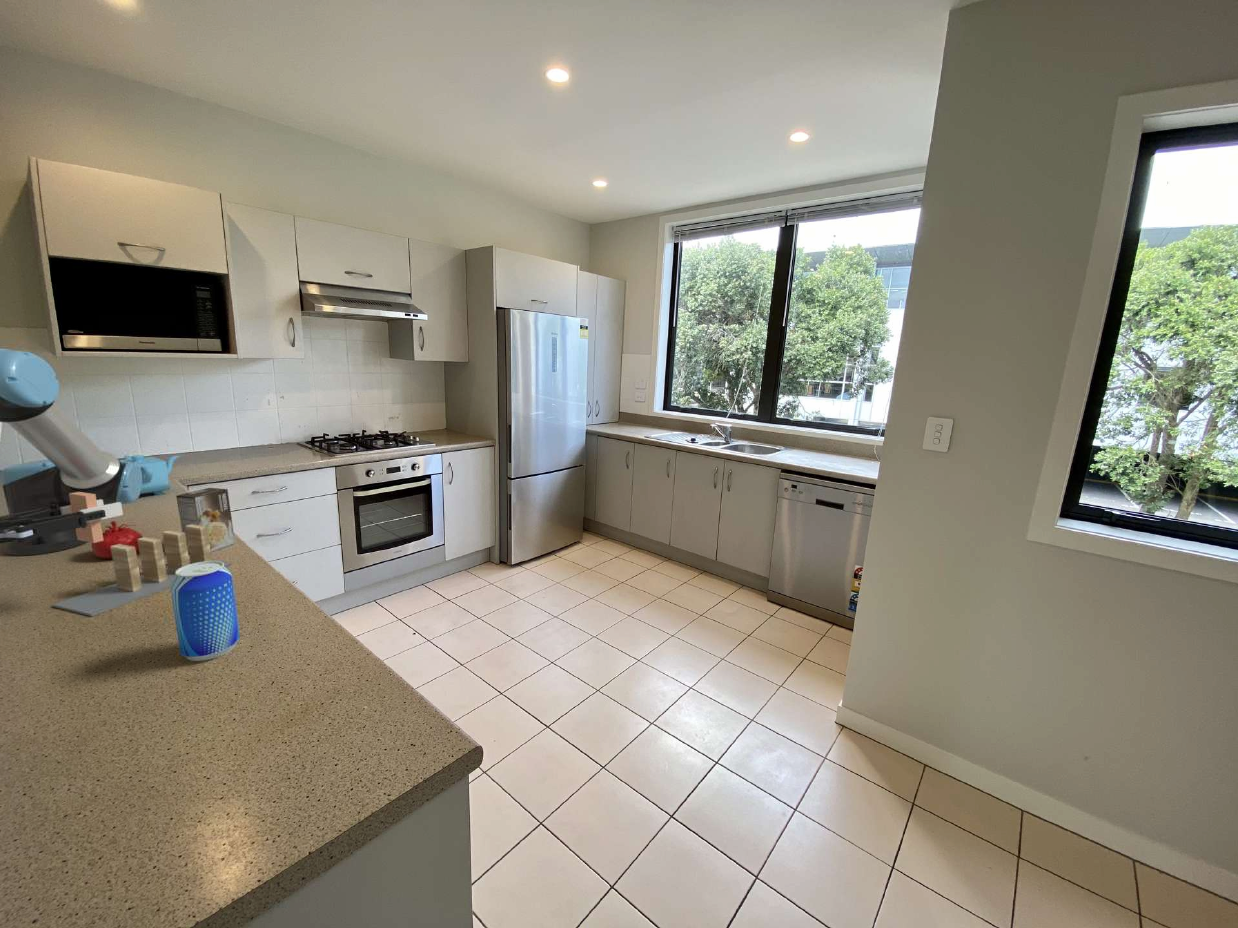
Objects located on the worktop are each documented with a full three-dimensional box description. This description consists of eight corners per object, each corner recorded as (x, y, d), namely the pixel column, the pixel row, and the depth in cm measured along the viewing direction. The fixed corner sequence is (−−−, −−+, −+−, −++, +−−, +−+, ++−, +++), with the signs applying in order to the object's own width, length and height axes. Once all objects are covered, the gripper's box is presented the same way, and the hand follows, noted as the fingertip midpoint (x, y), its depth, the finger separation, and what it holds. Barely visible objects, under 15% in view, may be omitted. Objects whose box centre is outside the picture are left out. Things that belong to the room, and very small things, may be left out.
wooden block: (205, 566, 124) (200, 528, 122) (190, 563, 125) (185, 525, 123) (212, 564, 126) (207, 526, 124) (197, 561, 127) (192, 524, 125)
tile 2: (133, 592, 110) (126, 549, 108) (117, 588, 111) (110, 546, 109) (142, 589, 111) (135, 546, 109) (126, 585, 113) (119, 543, 111)
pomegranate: (113, 565, 125) (106, 530, 123) (82, 560, 127) (75, 525, 125) (156, 550, 135) (151, 517, 132) (127, 545, 136) (121, 513, 134)
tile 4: (183, 574, 119) (177, 534, 117) (168, 571, 121) (162, 532, 119) (190, 571, 121) (185, 532, 119) (175, 568, 122) (169, 530, 120)
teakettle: (155, 500, 179) (149, 460, 176) (92, 501, 174) (85, 460, 172) (187, 487, 197) (182, 450, 194) (130, 488, 192) (124, 450, 190)
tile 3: (159, 582, 115) (153, 541, 113) (144, 579, 116) (137, 539, 114) (167, 580, 116) (161, 539, 114) (152, 576, 118) (145, 536, 116)
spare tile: (93, 542, 103) (85, 496, 101) (77, 539, 104) (68, 493, 102) (103, 540, 104) (95, 494, 102) (87, 537, 105) (78, 491, 103)
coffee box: (217, 541, 142) (210, 486, 139) (236, 543, 141) (229, 488, 138) (183, 552, 133) (175, 494, 130) (203, 555, 132) (195, 497, 129)
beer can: (192, 669, 85) (178, 582, 82) (173, 653, 89) (160, 569, 86) (248, 647, 92) (238, 565, 89) (228, 633, 96) (218, 555, 93)
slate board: (52, 606, 104) (52, 604, 104) (197, 558, 130) (196, 556, 130) (91, 616, 100) (91, 614, 100) (231, 564, 127) (231, 562, 127)
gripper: (-83, 556, 88) (86, 518, 110) (-20, 570, 83) (143, 528, 105) (-94, 515, 87) (80, 486, 109) (-30, 527, 82) (138, 494, 104)
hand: (111, 507), depth 107 cm, fingers closed on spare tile, 5 cm apart
